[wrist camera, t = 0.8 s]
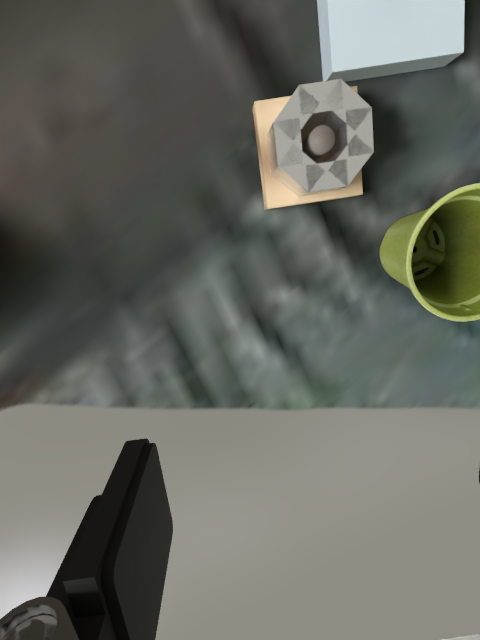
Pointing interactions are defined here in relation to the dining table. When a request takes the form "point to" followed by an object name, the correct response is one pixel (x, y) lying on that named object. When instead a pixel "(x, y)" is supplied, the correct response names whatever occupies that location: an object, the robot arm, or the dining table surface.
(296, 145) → the ring
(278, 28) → the dining table surface
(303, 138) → the stand
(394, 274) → the plant pot
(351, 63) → the peg base
